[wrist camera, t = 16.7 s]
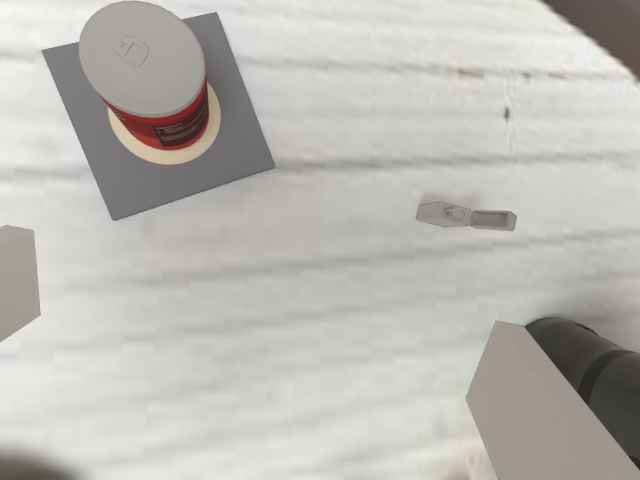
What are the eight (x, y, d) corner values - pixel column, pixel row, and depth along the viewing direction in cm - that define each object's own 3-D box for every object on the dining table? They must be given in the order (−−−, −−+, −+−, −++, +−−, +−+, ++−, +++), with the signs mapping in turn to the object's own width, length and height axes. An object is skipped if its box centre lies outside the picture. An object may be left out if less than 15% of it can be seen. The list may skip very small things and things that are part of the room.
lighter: (415, 219, 44) (457, 214, 36) (418, 205, 44) (461, 196, 36) (467, 233, 46) (518, 230, 38) (470, 219, 46) (521, 214, 38)
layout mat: (216, 17, 38) (216, 11, 37) (273, 167, 40) (274, 165, 39) (46, 55, 34) (40, 49, 33) (115, 220, 36) (112, 219, 35)
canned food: (129, 60, 35) (90, -19, 25) (217, 86, 37) (216, 23, 27) (111, 140, 35) (64, 94, 24) (201, 161, 37) (193, 128, 26)
